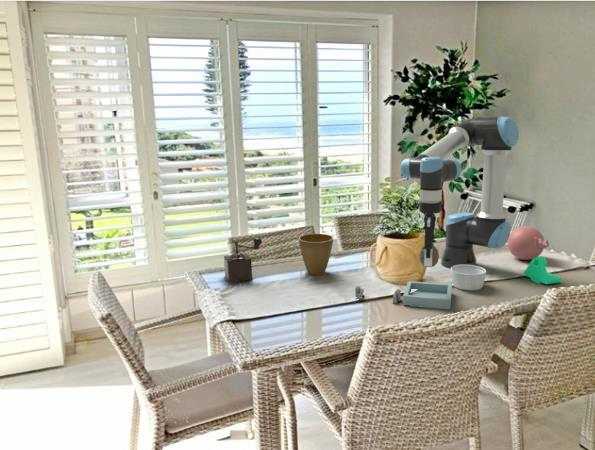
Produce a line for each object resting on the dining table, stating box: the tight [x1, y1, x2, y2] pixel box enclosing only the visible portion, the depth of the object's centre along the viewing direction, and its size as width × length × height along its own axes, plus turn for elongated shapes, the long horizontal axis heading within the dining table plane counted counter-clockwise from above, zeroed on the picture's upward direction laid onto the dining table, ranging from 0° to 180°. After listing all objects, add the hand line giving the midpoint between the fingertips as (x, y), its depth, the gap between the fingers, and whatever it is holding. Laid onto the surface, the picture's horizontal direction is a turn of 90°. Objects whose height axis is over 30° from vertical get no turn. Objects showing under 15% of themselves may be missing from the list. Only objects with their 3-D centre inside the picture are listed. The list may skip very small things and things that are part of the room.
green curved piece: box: [523, 255, 562, 285], centre depth 204 cm, size 12×8×10 cm, turn 17°
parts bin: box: [402, 280, 453, 310], centre depth 189 cm, size 16×16×4 cm
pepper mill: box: [223, 237, 263, 283], centre depth 219 cm, size 16×11×18 cm
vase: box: [418, 242, 440, 268], centre depth 185 cm, size 7×7×9 cm
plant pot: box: [298, 233, 334, 276], centre depth 222 cm, size 15×15×16 cm
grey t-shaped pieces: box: [354, 285, 402, 305], centre depth 191 cm, size 6×17×4 cm, turn 72°
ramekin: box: [450, 265, 487, 291], centre depth 201 cm, size 13×13×7 cm
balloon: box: [507, 225, 550, 261], centre depth 229 cm, size 15×20×15 cm
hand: (428, 262), depth 186 cm, fingers closed on vase, 7 cm apart
